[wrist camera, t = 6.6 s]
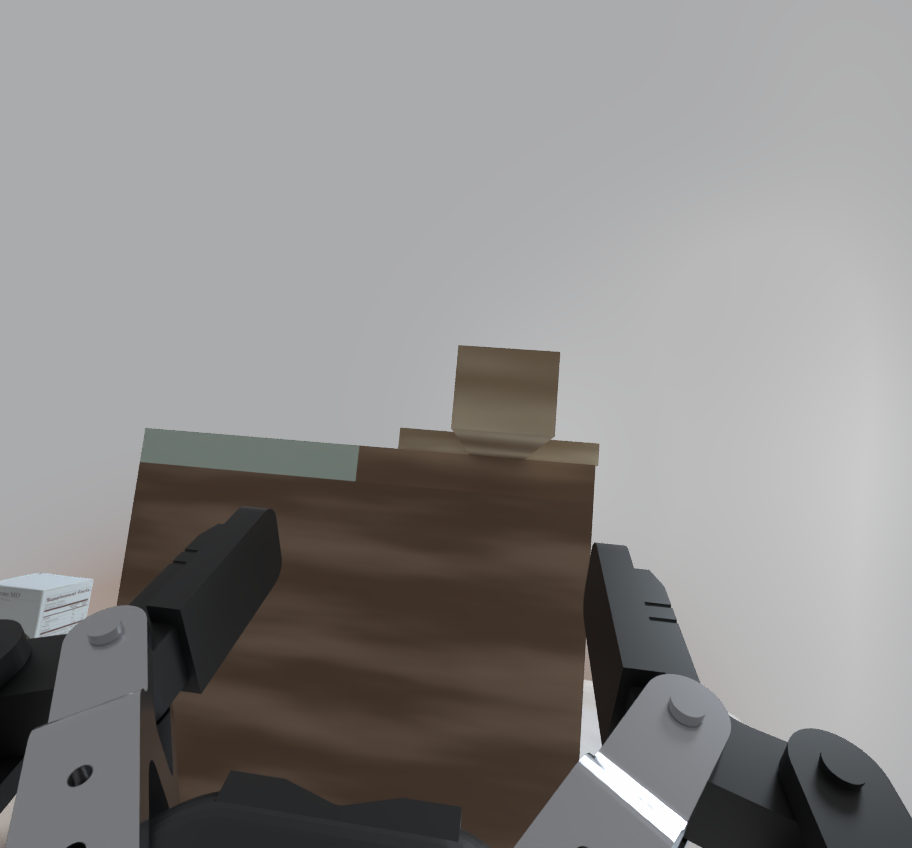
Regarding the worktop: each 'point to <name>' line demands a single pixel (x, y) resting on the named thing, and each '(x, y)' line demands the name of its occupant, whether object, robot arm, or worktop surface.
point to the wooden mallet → (503, 409)
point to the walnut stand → (385, 621)
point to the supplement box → (45, 602)
